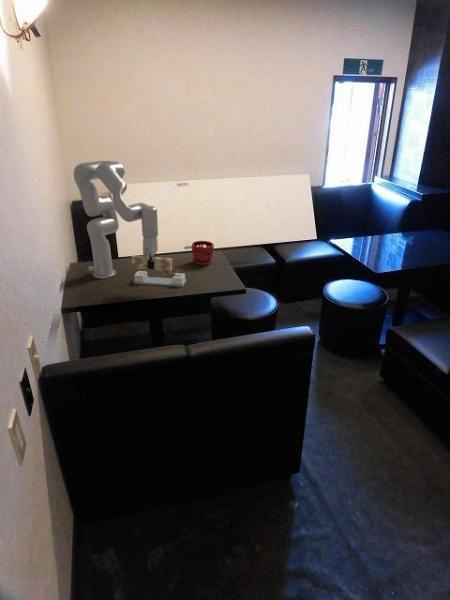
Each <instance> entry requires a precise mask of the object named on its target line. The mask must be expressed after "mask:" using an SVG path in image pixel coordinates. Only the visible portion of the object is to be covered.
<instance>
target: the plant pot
mask: <svg viewBox="0 0 450 600" xmlns="http://www.w3.org/2000/svg"><path fill="white" fill-rule="evenodd" d="M204 246H205V247H204ZM214 247H215V245H214V243H213V242H211V241H209V240H197V241H194V242H192V243H191V253H192V256H193V257H192V258H193V259H192V261H193V263H194V264H196V265H201V266H202V265H209V264H211V263H212V260H213V259H212V257H213V255H214Z"/></svg>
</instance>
